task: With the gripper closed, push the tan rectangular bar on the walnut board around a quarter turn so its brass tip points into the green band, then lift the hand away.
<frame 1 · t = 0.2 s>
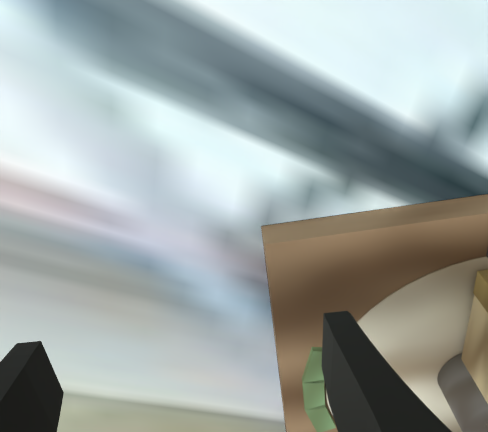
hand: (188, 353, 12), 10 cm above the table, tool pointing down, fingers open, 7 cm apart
dial board: (458, 349, 28), on the table
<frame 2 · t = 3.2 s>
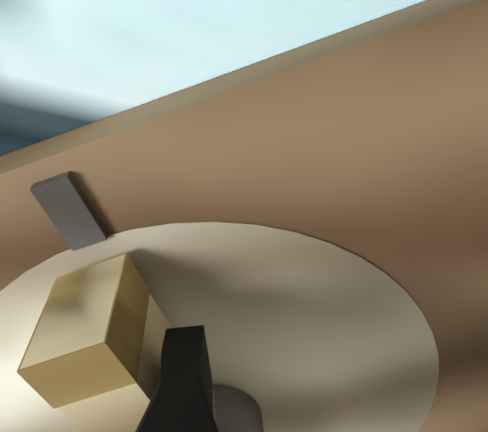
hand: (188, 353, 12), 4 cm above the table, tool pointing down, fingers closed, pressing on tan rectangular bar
dial board: (206, 381, 18), on the table
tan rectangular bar: (168, 416, 14), point 3 cm above the table, hinge at 1.5°, touching gripper
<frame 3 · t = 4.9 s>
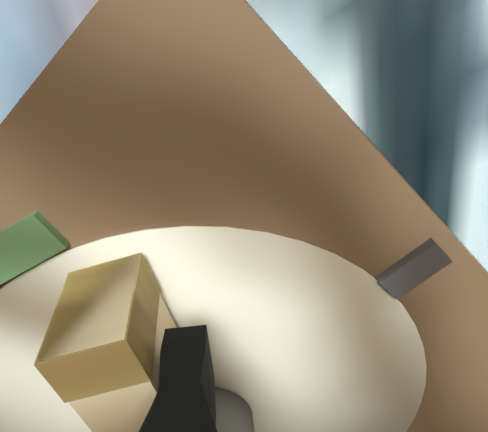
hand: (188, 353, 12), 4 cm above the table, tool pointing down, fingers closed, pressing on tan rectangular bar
dial board: (198, 382, 18), on the table
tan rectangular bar: (167, 415, 14), point 3 cm above the table, hinge at 61.2°, touching gripper
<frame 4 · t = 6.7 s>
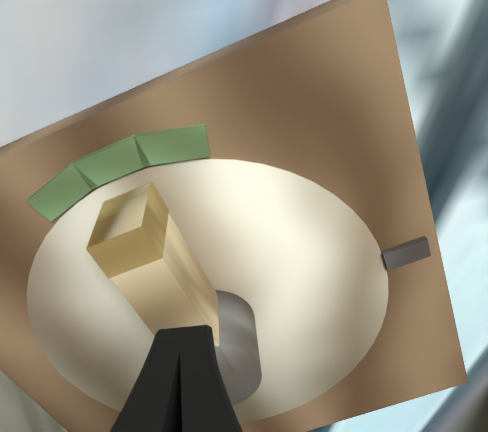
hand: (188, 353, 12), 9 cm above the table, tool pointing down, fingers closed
dial board: (212, 297, 23), on the table
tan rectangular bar: (183, 304, 19), point 3 cm above the table, hinge at 90.0°
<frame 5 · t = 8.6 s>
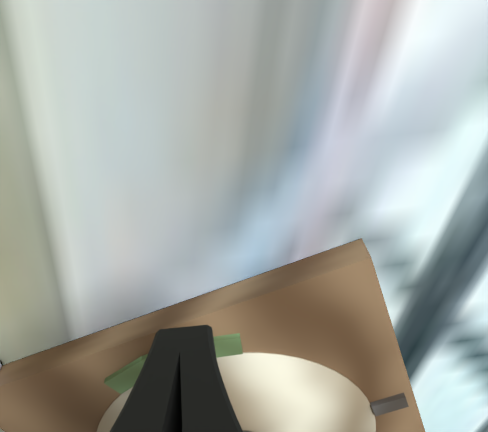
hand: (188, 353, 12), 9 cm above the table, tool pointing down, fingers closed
dial board: (236, 424, 29), on the table
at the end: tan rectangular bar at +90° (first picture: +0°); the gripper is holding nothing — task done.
